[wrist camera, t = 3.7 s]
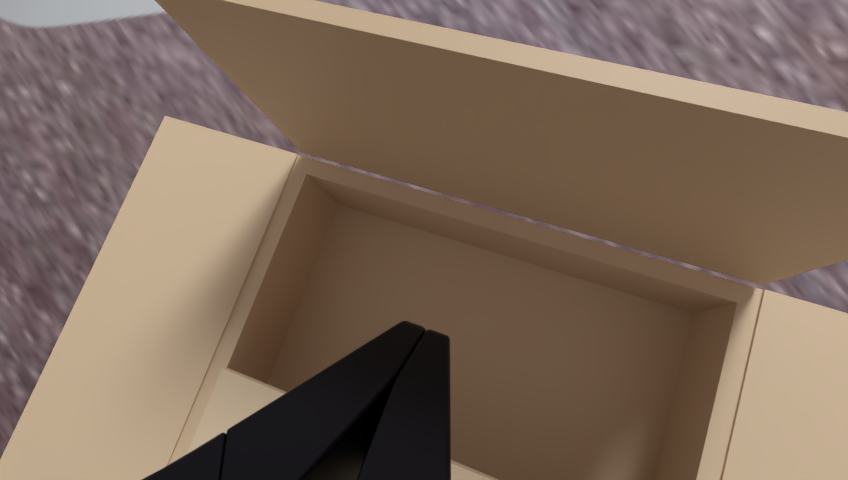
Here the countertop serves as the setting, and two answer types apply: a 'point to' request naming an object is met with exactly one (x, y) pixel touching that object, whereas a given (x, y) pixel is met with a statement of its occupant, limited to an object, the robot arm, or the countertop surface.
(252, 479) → the robot arm
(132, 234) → the carton
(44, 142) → the countertop surface
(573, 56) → the flap
